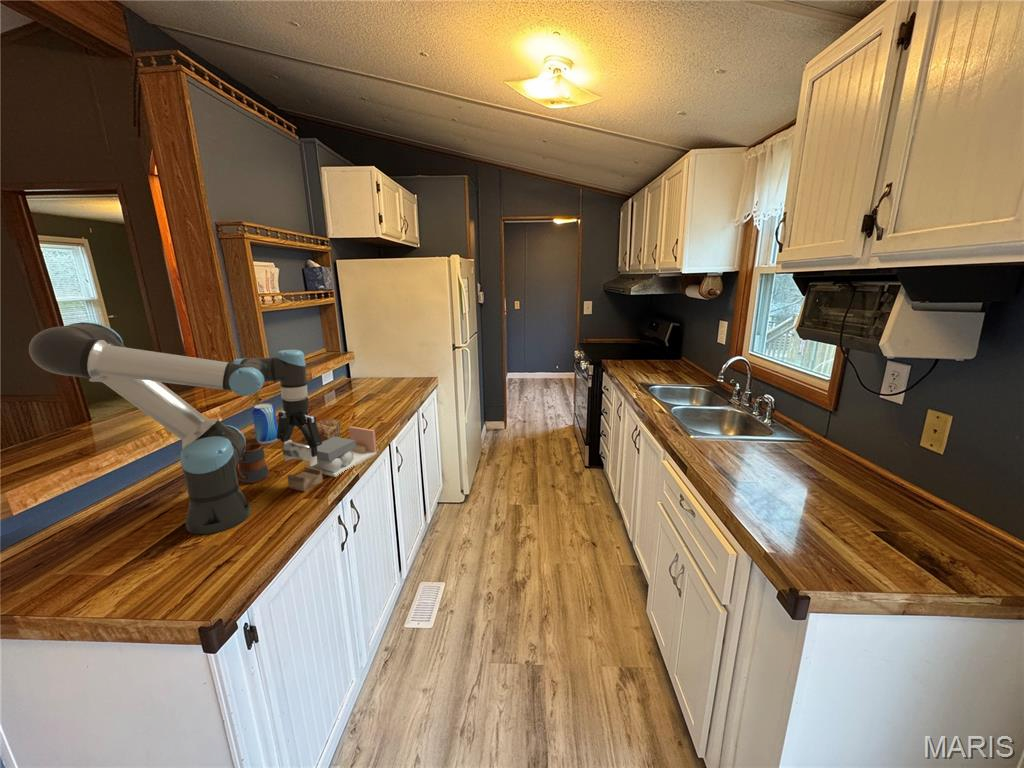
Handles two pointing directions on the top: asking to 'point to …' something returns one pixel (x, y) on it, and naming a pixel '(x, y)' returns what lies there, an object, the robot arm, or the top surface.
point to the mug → (252, 464)
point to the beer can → (265, 423)
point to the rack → (305, 479)
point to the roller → (296, 451)
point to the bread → (326, 429)
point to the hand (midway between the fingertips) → (301, 462)
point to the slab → (334, 448)
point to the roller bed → (351, 453)
